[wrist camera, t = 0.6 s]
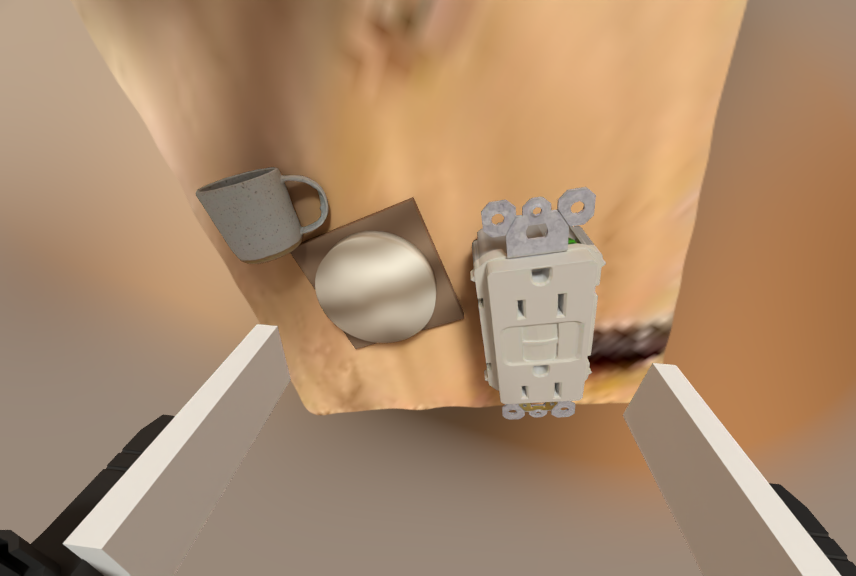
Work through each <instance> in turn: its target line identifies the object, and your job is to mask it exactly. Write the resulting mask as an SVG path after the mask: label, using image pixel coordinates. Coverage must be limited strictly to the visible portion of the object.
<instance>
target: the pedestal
mask: <svg viewBox="0 0 856 576" xmlns="http://www.w3.org/2000/svg"><path fill="white" fill-rule="evenodd" d="M290 253H291V254H292V256H293V257H294V259H295V260H296V262H297V263H298V265H299V266H300V268H301V269H302V271H303V272H304V274H305V275H306V277H307V278H308V280H309V281H310V283H311V284H312V286H313V287H314V288H315V290H316V295H317V298H318V301H319V303H320V306H321V308H322V309H323V311H324V313H325V314H326V315H327V316H328V318H329V319H330V320H331V321H332V322H333V323H334V324H335V325H336V326H338V327H339V328H340V329H342V330H343V331H344V333H345V334H346V336H347V337H348V339H349V340H350V342H351V343H352V345H353V346H354V348H355V349H357V348H361V347H364V346H368V345H371V344H375V343H391V342H397V341H402V340H405V339H407V338H409V337H411V336H413V335H415V334H416V333H418V332H419V331H421V330H425V329H428V328H432V327H435V326H439V325H443V324H446V323H450V322H453V321H457V320H460V319H464V312H463V309H462V307H461V305H460V302H459V300H458V298H457V296H456V293H455V291H454V289H453V286H452V284H451V282H450V280H449V277H448V275H447V273H446V270H445V268H444V266H443V264H442V261H441V259H440V257H439V255H438V252H437V250H436V248H435V245H434V243H433V241H432V239H431V236H430V234H429V232H428V229H427V227H426V225H425V223H424V220H423V218H422V216H421V214H420V211H419V209H418V207H417V204H416V202H415V200H414V198H413V197H412V198H410V199H408V200H405V201H403V202H400V203H398V204H395V205H393V206H390V207H388V208H386V209H383V210H381V211H378V212H376V213H373V214H371V215H368V216H366V217H364V218H361V219H359V220H356V221H354V222H351V223H349V224H346V225H344V226H342V227H339V228H337V229H334V230H332V231H329V232H327V233H324V234H322V235H320V236H317V237H315V238H312V239H310V240H307V241H305V242H302V243H300V245H299V246H298V247H297V248H296V249H295V250H293V251H292V252H290Z"/></svg>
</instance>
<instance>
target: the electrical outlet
mask: <svg viewBox="0 0 856 576" xmlns="http://www.w3.org/2000/svg"><path fill="white" fill-rule="evenodd" d="M595 198H596V195H595V194H594V193H593V192H592V191H590V190H589V189H588V188H587V187H582V188H576V189H570V190H567V191H566V192H565V193H564V194H563V195H562V196H561V197H560V198H559V199H558V207H557V210H551V203H550V202H549V201H547V200H546V199H545V198H544V197H536V198H531V199H529V200H528V201H527V202H526V204H525V205H524V206H523V207H522V215H518V216H516V207H515V206H514V205H513V204H511V203H510V202H508V201H507V200H501V201H494V202H489V203H488V204H487V205H486V206H485V208H484V209H483V210H482V211H481V215H482V224H483V228H482V229H481V230H480V231H478V232H477V236H478V239H477V240H475V241H473V243H472V253H473V265H474V269H473V270H472V271H470V274H471V281H474V282H475V283H476V291H477V298H478V304H479V313H480V321H481V328H482V336H483V343H484V351H485V358H486V364H487V369H486V370H485V371H484V374H485V380H486V381H488V382H489V385H490V386H492V387H493V388H494V389H496V390H498V391H499V394H500V401H501V403H503V404H506V405H504V406H503V407H502V412H503V417H505V418H507V419H520V418H522V417H523V416H525V412H529V415H531V416H533V417H543V416H544V415H546V414H547V411H548V410H551V414H552V415H554V416H556V417H569V416H571V415H572V414H574V413H575V403H573V402H572V401H576V400H580V399H582V398H583V390H584V382H585V380H586V379H588V375H589V374H591V373H592V372H591V370H590V368H589V365H590V363H589V361H588V359H587V356H588V355H591V348H592V340H593V332H594V324H595V316H596V308H597V300H598V296H597V294H596V293H595V287H596V285H599V283H600V275H601V267H602V266H604V265H605V264H606V262H605V261H604V260H603V256H602V254H601V253H600V251H599V250H598V249H597V247H596V246H595V245H594V244H593V242H592V241H591V240H590V238H589V237H588V236H587V234H586V233H585V232H584V231H583V229H582V228H581V227H580V226H576V225H583V224H585V223H586V222H587V221H588V220H589V219H590V218H591V217H592V216H593V215H594V208H595ZM578 201H581V202H583V203H584V207H583V210H581V211H580V212H579V213H572V212H571V206H572V205H573V203H575V202H578ZM536 207H540V208H541V212H540V213H539V214H536V215H535V214H533V209H535V208H536ZM495 214H502V215H503V216H504V220H503V222H502V223H497V225H495V224H493V223H492V221H491V219H492V217H493V216H494V215H495ZM573 226H574V227H573ZM539 402H545V403H544V404H541V405H531V403H539ZM562 407H567V408H568V409H567V410H563V411H562V410H560V408H562ZM510 410H516V412H515V413H510V412H509V411H510ZM536 412H540V413H536Z"/></svg>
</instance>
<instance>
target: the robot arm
mask: <svg viewBox="0 0 856 576" xmlns="http://www.w3.org/2000/svg"><path fill="white" fill-rule="evenodd" d="M290 380H291V379H290V374H289V370H288V366H287V362H286V358H285V354H284V350H283V346H282V342H281V338H280V334H279V330H278V326H271V325H261V324H257V325H256V326H255V327H254V328H253V329H252V330H251V331H250V333H249V334H248V335H247V336H246V337H245V338H244V339H243V341H242V342H241V343H240V344H239V345H238V346H237V347H236V348H235V350H234V351H233V352H232V353H231V354H230V355H229V356H228V357H227V359H226V360H225V361H224V362H223V363H222V364H221V365H220V366H219V368H218V369H217V370H216V371H215V372H214V373H213V374H212V375H211V377H210V378H209V379H208V380H207V381H206V382H205V383H204V384H203V386H202V387H201V388H200V389H199V390H198V391H197V392H196V394H195V395H194V396H193V397H192V398H191V399H190V400H189V401H188V403H187V404H186V405H185V406H184V407H183V408H182V409H181V411H180V412H179V413H178V414H177V415H176V416H170V415H162V416H160V417H159V418H157V419H156V420H154V421H153V422H152V423H150V424H149V425H147V426H146V427H144V428H143V429H141V430H140V431H139V432H138V433H137V434H136V436H134V438H133V439H132V440H131V441H130V442H129V443H128V444H127V445H126V446H125V447H124V448H123V451H122V452H121V453H118V454H117V455H116V456H115V458H114V459H113V460H112V461H111V462H110V463H109V464H108V465H107V468H106V469H103V470H102V471H101V472H100V473H99V474H98V476H96V477H95V479H94V480H93V481H92V482H91V483H90V484H89V485H88V486H87V487H86V488H85V489H84V490H83V491H82V492H81V493H80V494H79V495H78V496H77V498H75V499H74V501H73V502H72V503H71V504H70V505H69V506H68V507H67V508H66V509H65V510H64V511H63V512H62V513H61V514H60V515H59V516H58V517H57V519H55V521H54V522H53V523H52V524H51V525H50V526H49V527H48V528H47V529H46V530H45V531H44V532H43V533H42V534H41V535H40V536H39V537H38V538H37V539H36V540H35V541H33V542H32V543H31V544H29V543H28V542H27V541H25V540H24V539H23V538H21V537H20V536H18V535H17V534H15V533H14V532H12V531H11V530H0V576H174V575H175V573H176V572H177V570H178V568H179V566H180V565H181V563H182V562H183V560H184V558H185V557H186V555H187V553H188V551H189V550H190V548H191V546H192V545H193V543H194V541H195V540H196V538H197V536H198V535H199V533H200V531H201V530H202V528H203V526H204V524H205V523H206V521H207V520H208V518H209V516H210V514H211V513H212V511H213V509H214V508H215V506H216V504H217V503H218V501H219V499H220V498H221V496H222V494H223V493H224V491H225V489H226V488H227V486H228V484H229V482H230V481H231V479H232V478H233V476H234V474H235V473H236V471H237V469H238V468H239V466H240V464H241V463H242V461H243V459H244V457H245V456H246V454H247V452H248V451H249V449H250V447H251V446H252V444H253V442H254V441H255V439H256V437H257V436H258V434H259V432H260V431H261V429H262V427H263V425H264V424H265V422H266V421H267V419H268V417H269V416H270V414H271V412H272V410H273V409H274V407H275V405H276V404H277V402H278V400H279V399H280V397H281V395H282V394H283V392H284V390H285V389H286V387H287V385H288V384H289V382H290ZM623 416H624V419H625V420H626V423H627V425H628V427H629V428H630V431H631V433H632V435H633V436H634V439H635V441H636V443H637V445H638V447H639V449H640V451H641V453H642V455H643V457H644V459H645V461H646V463H647V465H648V467H649V469H650V471H651V473H652V475H653V477H654V479H655V481H656V483H657V485H658V487H659V488H660V491H661V493H662V495H663V497H664V499H665V501H666V503H667V505H668V507H669V509H670V510H671V513H672V515H673V517H674V519H675V521H676V523H677V525H678V526H679V529H680V531H681V533H682V534H683V537H684V539H685V541H686V543H687V545H688V547H689V549H690V551H691V553H692V555H693V557H694V559H695V560H696V563H697V564H698V567H699V569H700V571H701V573H702V575H703V576H856V566H855V565H854V564H853V562H850V561H848V559H847V555H846V554H845V553H844V551H843V550H842V549H841V548H840V547H839V545H838V544H837V543H836V542H835V541H834V540H833V539H831V538H830V537H829V536H828V532H827V531H826V530H825V529H824V527H823V526H822V525H821V524H820V523H819V521H818V520H817V519H816V518H815V517H814V515H813V514H812V513H811V512H810V511H809V509H808V508H807V507H805V505H803V504H802V503H801V502H800V501H799V500H798V499H796V498H795V497H794V496H793V495H792V494H791V493H790V492H788V491H787V490H786V489H785V488H784V487H783V486H781V485H779V484H770V483H768V482H767V481H766V479H765V478H764V477H763V475H762V474H761V473H760V472H759V470H758V469H757V468H756V467H755V465H754V464H753V463H752V462H751V460H750V459H749V458H748V456H747V455H746V454H745V453H744V451H743V450H742V449H741V448H740V446H739V445H738V444H737V442H736V441H735V440H734V439H733V437H732V436H731V435H730V433H729V432H728V431H727V430H726V428H725V427H724V426H723V425H722V423H721V422H720V421H719V420H718V418H717V417H716V416H715V414H714V413H713V412H712V411H711V409H710V408H709V407H708V406H707V404H706V403H705V402H704V400H703V399H702V398H701V397H700V395H699V394H698V393H697V392H696V390H695V389H694V388H693V386H692V385H691V384H690V383H689V381H688V380H687V379H686V378H685V377H684V375H683V374H682V372H681V371H680V370H679V369H678V367H677V366H676V365H667V364H657V363H652V365H651V367H650V368H649V370H648V372H647V374H646V375H645V377H644V379H643V381H642V382H641V384H640V386H639V388H638V389H637V391H636V393H635V395H634V396H633V398H632V400H631V402H630V403H629V405H628V407H627V409H626V411H625V412H624V414H623Z"/></svg>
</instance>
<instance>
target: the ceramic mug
mask: <svg viewBox="0 0 856 576" xmlns="http://www.w3.org/2000/svg"><path fill="white" fill-rule="evenodd" d="M285 181H298V182H304V183H307V184H308V185H310V186H312V187H313V188H315V189H317V190H318V194H319V197H320V202H321V207H320V210H321V217H320V218H319V219H318V220H317V221H316V222H314V223H313V224H310V225H308V226H305V227H301V225H300V222H299V220H298V217H297V215H296V212H295V211H294V208H293V205H292V202H291V199H290V196H289V194H288V191H287V188H286V186H285ZM196 196H197V198H198V199H199V201H200V202H201V203H202V205H203V206H204V208H205V210H206V211H207V213H208V214H209V216H210V218H211V219H212V221H213V222H214V224H215V225H216V227H217V228H218V230H219V231H220V233H221V234H222V236H223V238H224V239H225V241H226V242H227V244H228V246H229V247H230V249H231V250H232V251H233V253H234V254H235V255H236V256H237V257H238V258H239V259H240V260H241V261H243V262H245V263H249V264H259V263H264V262H268V261H271V260H275V259H277V258H280V257H282V256H284V255H286V254H288V253H290V252H292V251H293V250H295V249H296V248H297V247H298V246H299V245H300V243H301V241H302V235H303V233H308V232H311V231H313V230H315V229H317V228H318V227H319V226H321V225H322V224H323V222H324V221H325V219H326V218H327V215H328V201H327V197H326V194H325V192H324V190H323V189H322V187H321V186H320V185H319V184H318V183H317V182H315V181H314V180H312V179H310V178H308V177H304V176H299V175H285V176H283V175H281V173H280V171H279V169H278V168H265V169H258V170H254V171H249V172H246V173H242V174H238V175H234V176H231V177H228V178H224V179H222V180H219V181H216V182H214V183H211V184H208V185H206V186H204V187H202V188H200V189H198V190H197V191H196Z"/></svg>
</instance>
